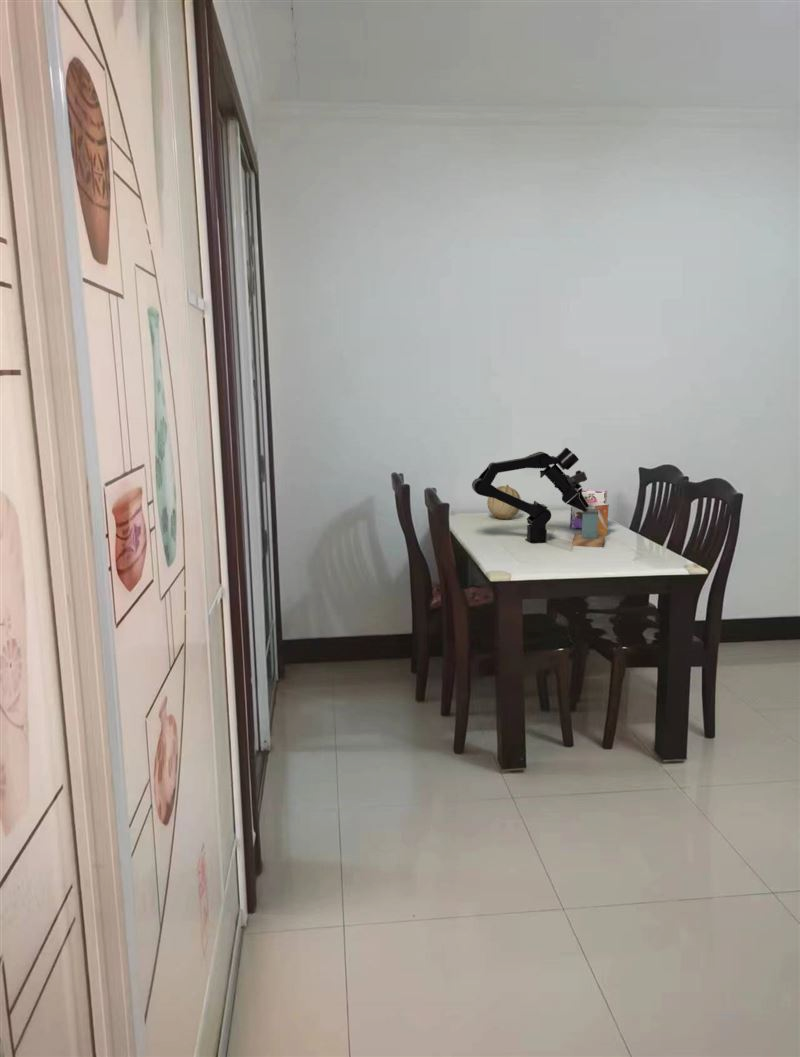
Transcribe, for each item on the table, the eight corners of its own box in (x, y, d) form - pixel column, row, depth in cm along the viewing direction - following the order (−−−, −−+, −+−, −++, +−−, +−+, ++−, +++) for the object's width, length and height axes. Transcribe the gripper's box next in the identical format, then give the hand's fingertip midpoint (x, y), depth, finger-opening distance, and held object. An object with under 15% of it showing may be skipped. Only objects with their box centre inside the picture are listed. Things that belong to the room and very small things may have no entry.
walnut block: (572, 547, 299) (572, 539, 298) (574, 541, 309) (575, 533, 308) (602, 549, 295) (602, 541, 295) (603, 543, 306) (604, 535, 305)
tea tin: (581, 538, 299) (582, 511, 297) (581, 535, 305) (582, 508, 303) (597, 539, 298) (598, 511, 296) (596, 536, 304) (597, 509, 301)
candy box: (569, 528, 331) (571, 489, 327) (571, 526, 336) (573, 487, 333) (603, 531, 326) (605, 491, 322) (605, 528, 331) (607, 489, 328)
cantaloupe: (485, 520, 347) (486, 486, 344) (488, 515, 361) (489, 482, 358) (519, 522, 344) (520, 488, 341) (521, 516, 358) (522, 483, 355)
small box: (593, 538, 312) (594, 505, 309) (581, 535, 317) (582, 503, 314) (607, 536, 316) (609, 503, 314) (595, 533, 321) (597, 501, 319)
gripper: (572, 466, 289) (602, 498, 288) (576, 461, 307) (604, 491, 306) (549, 487, 293) (578, 518, 292) (555, 480, 310) (582, 510, 309)
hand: (587, 508), depth 300 cm, fingers open, 9 cm apart
